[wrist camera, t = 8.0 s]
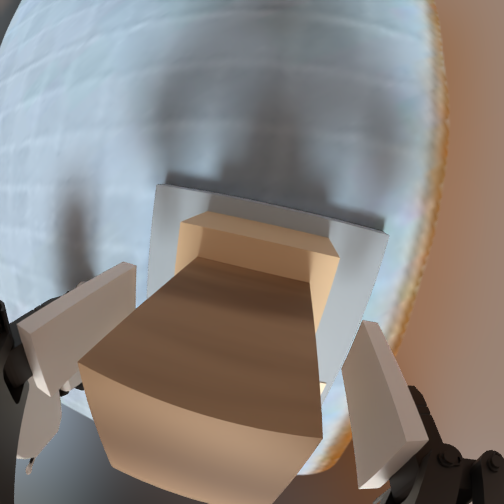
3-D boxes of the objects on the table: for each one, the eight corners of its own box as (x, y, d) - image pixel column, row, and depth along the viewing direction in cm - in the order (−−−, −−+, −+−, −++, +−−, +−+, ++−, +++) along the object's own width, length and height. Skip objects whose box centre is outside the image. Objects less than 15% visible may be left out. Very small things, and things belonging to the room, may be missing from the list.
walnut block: (197, 256, 12) (77, 362, 4) (309, 282, 12) (322, 438, 4) (187, 346, 14) (112, 466, 6) (281, 370, 13) (262, 513, 5)
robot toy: (68, 262, 20) (-71, 337, 6) (106, 279, 19) (-44, 381, 5) (79, 366, 23) (-4, 450, 9) (111, 384, 23) (31, 484, 9)
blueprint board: (165, 183, 17) (119, 188, 12) (383, 231, 16) (416, 254, 11) (154, 402, 22) (131, 438, 17) (297, 439, 21) (294, 482, 16)
